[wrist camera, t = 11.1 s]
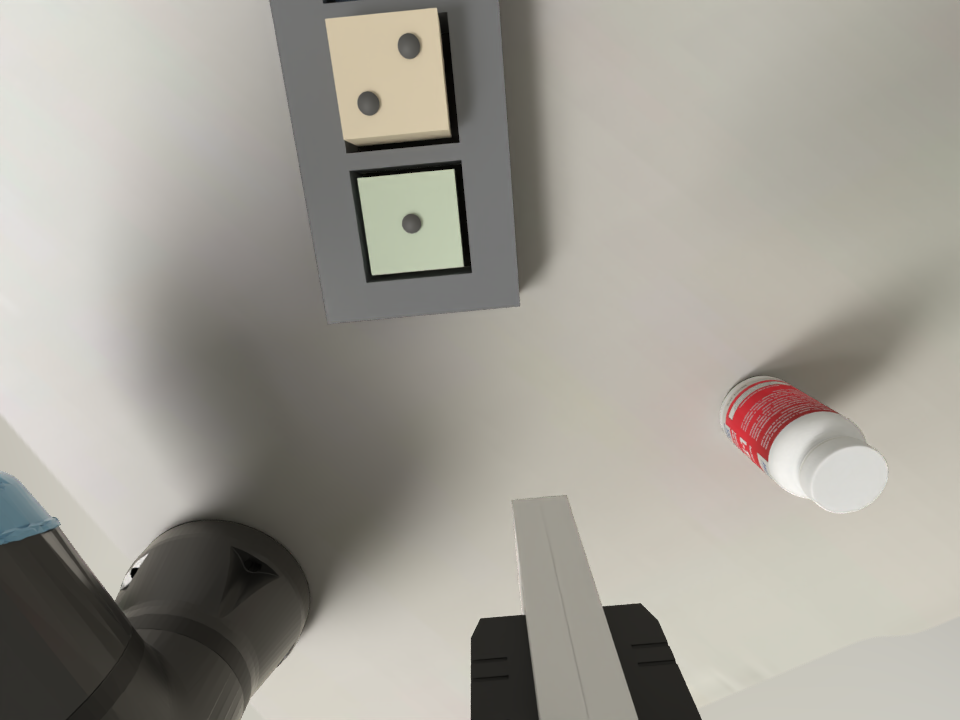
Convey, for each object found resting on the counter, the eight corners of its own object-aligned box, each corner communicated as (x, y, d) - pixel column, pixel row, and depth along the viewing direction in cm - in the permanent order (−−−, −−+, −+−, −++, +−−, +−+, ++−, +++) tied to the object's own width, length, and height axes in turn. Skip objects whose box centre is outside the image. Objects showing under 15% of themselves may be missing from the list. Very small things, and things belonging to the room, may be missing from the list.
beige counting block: (358, 146, 34) (342, 139, 30) (342, 40, 32) (323, 17, 28) (451, 137, 34) (449, 129, 30) (441, 30, 32) (436, 6, 28)
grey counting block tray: (341, 311, 39) (327, 324, 36) (262, -153, 31) (233, -201, 27) (515, 295, 39) (520, 306, 35) (481, -175, 31) (482, -228, 27)
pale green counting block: (381, 267, 38) (371, 275, 34) (369, 180, 36) (356, 178, 32) (464, 259, 38) (463, 267, 34) (455, 172, 36) (453, 168, 32)
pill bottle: (701, 422, 42) (777, 496, 32) (750, 359, 41) (847, 415, 30) (760, 457, 43) (853, 541, 33) (810, 398, 42) (924, 465, 31)
